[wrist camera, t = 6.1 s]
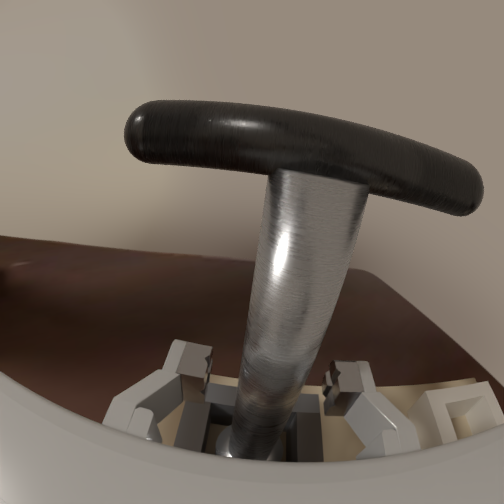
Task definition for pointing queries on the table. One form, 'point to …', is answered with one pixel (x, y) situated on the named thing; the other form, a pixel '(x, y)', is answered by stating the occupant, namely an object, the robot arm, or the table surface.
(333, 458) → the tool board
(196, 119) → the chuck key
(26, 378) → the table surface
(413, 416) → the frame
